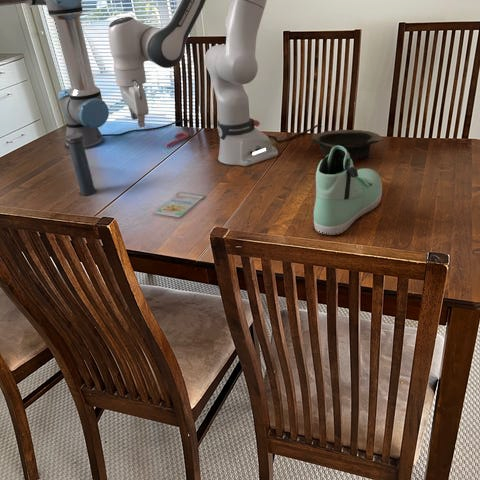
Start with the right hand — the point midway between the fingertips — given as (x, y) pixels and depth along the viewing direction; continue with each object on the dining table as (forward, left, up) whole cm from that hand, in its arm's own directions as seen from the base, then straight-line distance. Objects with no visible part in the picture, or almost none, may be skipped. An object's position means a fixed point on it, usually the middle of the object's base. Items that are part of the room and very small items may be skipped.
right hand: (138, 122), depth 150 cm
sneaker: (-47, +47, -22) cm, 70 cm away
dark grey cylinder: (+19, -7, -22) cm, 30 cm away
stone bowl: (-69, +13, -22) cm, 74 cm away
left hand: (+57, -34, +6) cm, 67 cm away
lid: (+20, -7, -3) cm, 21 cm away
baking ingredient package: (-5, +19, -22) cm, 29 cm away
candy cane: (-21, -38, -22) cm, 49 cm away
